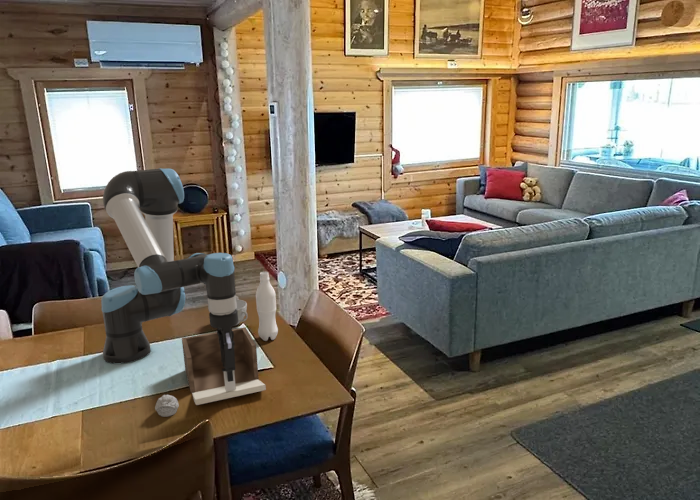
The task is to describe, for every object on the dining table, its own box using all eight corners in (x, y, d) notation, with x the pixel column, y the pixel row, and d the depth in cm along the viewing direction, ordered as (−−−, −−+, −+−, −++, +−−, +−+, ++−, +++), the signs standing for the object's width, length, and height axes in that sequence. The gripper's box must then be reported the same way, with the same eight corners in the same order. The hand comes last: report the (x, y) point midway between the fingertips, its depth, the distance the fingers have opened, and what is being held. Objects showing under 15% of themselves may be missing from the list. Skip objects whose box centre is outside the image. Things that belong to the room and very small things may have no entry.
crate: (191, 397, 155) (187, 358, 152) (185, 374, 169) (181, 338, 166) (258, 383, 162) (256, 345, 159) (248, 362, 176) (245, 327, 173)
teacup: (208, 325, 208) (207, 306, 206) (232, 315, 218) (231, 296, 216) (235, 333, 199) (233, 313, 197) (259, 323, 209) (257, 303, 207)
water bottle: (281, 335, 197) (277, 270, 191) (272, 343, 190) (268, 276, 184) (264, 333, 199) (260, 269, 193) (255, 340, 193) (250, 275, 186)
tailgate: (192, 398, 154) (196, 405, 144) (192, 393, 154) (195, 399, 144) (258, 384, 161) (266, 389, 151) (257, 379, 162) (265, 384, 151)
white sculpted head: (154, 425, 141) (151, 402, 139) (159, 411, 148) (156, 389, 146) (178, 423, 142) (175, 399, 140) (181, 409, 149) (179, 387, 147)
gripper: (241, 316, 139) (248, 397, 144) (232, 301, 150) (239, 377, 156) (212, 320, 136) (220, 403, 142) (205, 305, 148) (213, 382, 153)
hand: (230, 389), depth 149 cm, fingers closed
